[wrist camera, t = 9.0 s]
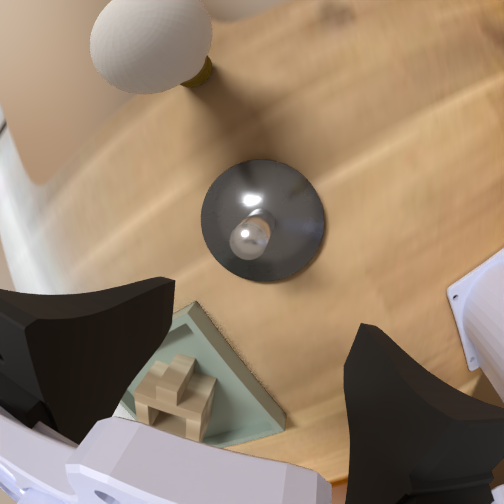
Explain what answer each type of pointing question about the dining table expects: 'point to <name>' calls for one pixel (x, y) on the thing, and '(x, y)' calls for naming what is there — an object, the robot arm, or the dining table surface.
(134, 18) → the light bulb
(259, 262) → the grey metal round stand
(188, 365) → the beige hollow block
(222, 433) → the tray
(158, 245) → the dining table surface
